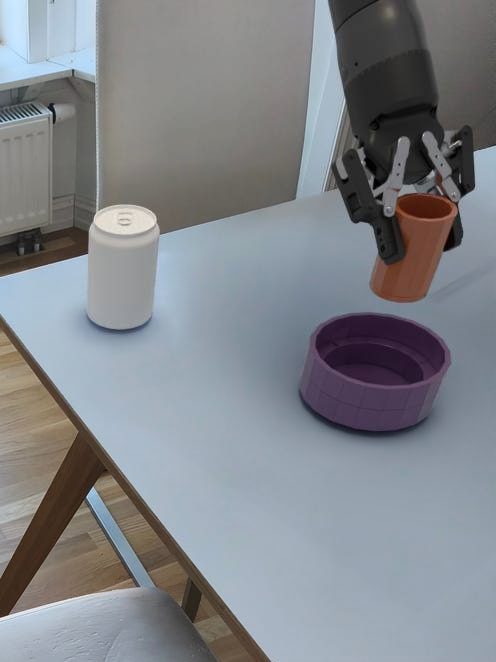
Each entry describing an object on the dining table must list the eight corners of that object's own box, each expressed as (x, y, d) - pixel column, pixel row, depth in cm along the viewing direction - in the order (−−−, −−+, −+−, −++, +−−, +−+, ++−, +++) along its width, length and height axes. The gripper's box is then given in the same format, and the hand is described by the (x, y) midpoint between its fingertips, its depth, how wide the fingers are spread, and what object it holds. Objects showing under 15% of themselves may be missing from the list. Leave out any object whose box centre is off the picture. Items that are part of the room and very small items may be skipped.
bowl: (352, 345, 103) (366, 297, 99) (458, 400, 96) (479, 352, 91) (271, 393, 98) (281, 345, 93) (376, 455, 91) (394, 406, 86)
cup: (359, 276, 89) (383, 195, 82) (413, 270, 89) (441, 189, 83) (382, 306, 85) (408, 223, 79) (438, 299, 86) (468, 217, 79)
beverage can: (83, 332, 107) (86, 235, 98) (89, 297, 112) (92, 201, 103) (150, 335, 106) (159, 237, 97) (153, 299, 111) (162, 203, 102)
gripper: (341, 58, 76) (384, 256, 78) (480, 33, 78) (517, 225, 81) (295, 104, 83) (334, 284, 85) (424, 79, 86) (459, 254, 88)
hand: (423, 254), depth 83 cm, fingers closed on cup, 5 cm apart
